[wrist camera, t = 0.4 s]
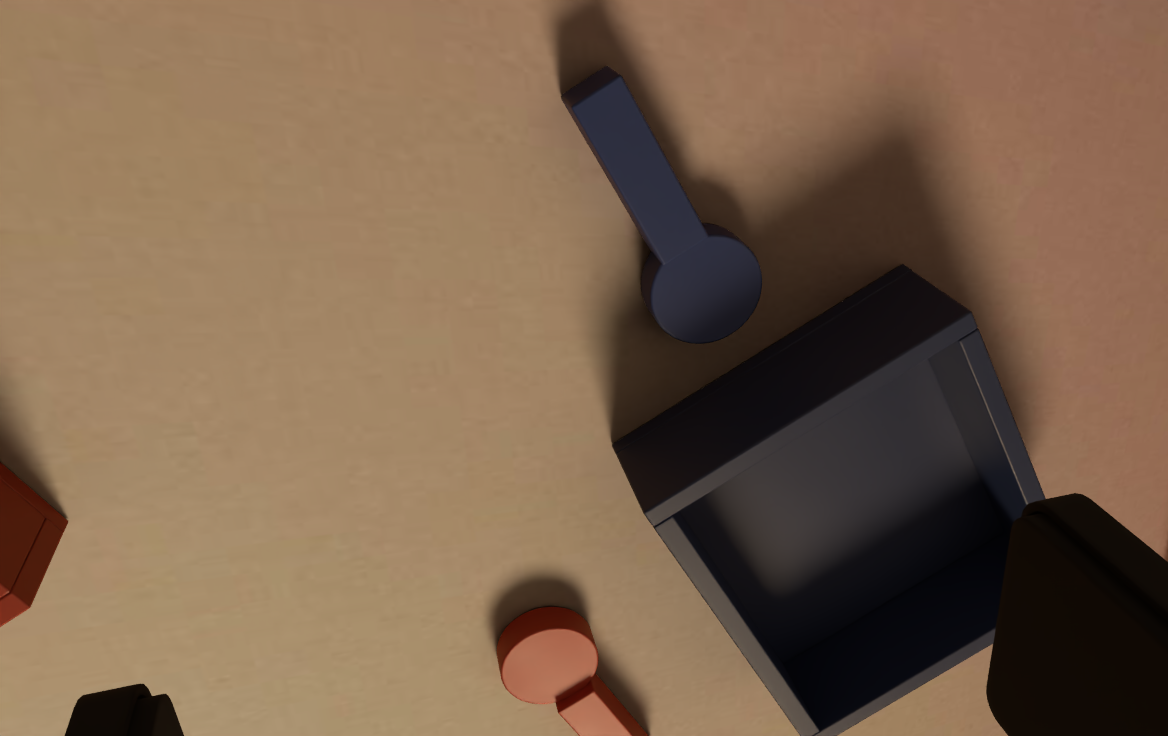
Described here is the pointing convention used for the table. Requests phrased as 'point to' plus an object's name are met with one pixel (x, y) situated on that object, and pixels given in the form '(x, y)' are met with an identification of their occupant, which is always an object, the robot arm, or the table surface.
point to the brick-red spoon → (561, 671)
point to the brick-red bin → (24, 543)
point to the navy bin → (845, 500)
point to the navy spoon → (666, 220)
